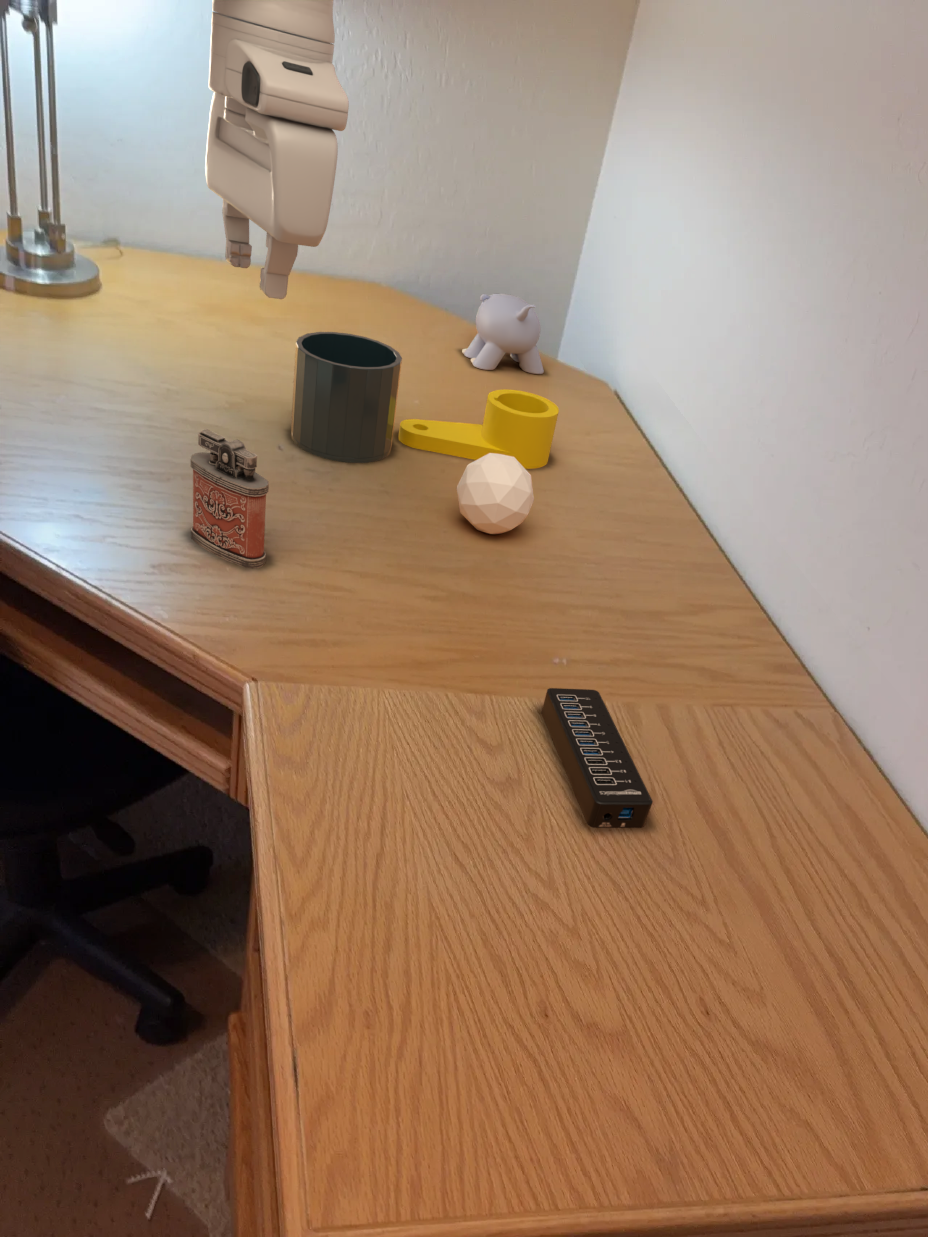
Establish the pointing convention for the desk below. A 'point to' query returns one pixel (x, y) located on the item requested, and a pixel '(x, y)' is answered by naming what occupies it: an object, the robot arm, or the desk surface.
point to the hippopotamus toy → (505, 333)
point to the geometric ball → (495, 493)
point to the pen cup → (344, 396)
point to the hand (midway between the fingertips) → (254, 280)
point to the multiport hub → (595, 759)
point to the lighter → (228, 501)
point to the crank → (492, 430)
